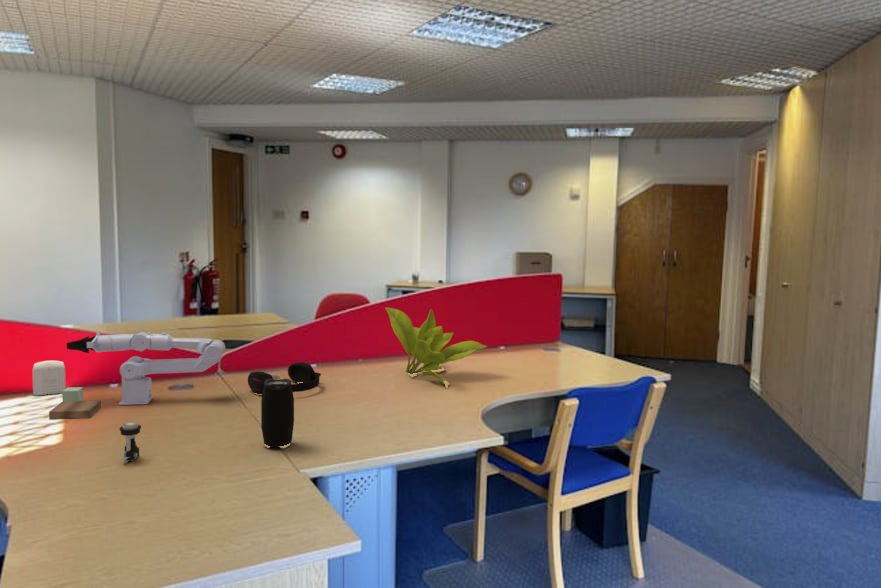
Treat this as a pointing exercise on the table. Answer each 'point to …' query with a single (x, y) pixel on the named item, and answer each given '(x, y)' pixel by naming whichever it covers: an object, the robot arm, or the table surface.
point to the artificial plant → (428, 343)
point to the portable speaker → (277, 412)
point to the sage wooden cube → (73, 394)
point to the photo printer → (48, 377)
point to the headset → (295, 372)
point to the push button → (130, 440)
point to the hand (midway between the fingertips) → (71, 345)
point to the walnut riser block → (75, 409)
